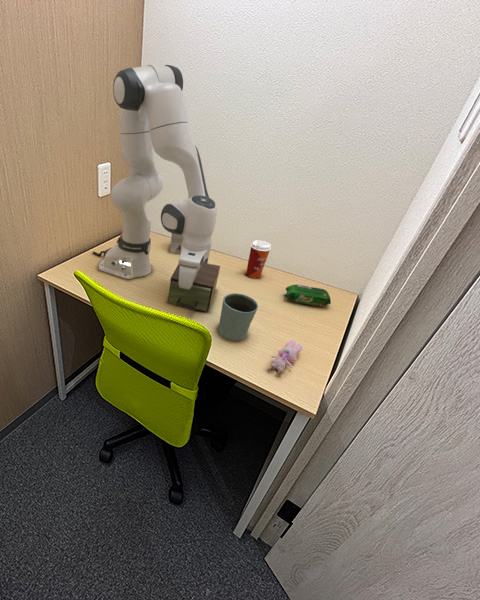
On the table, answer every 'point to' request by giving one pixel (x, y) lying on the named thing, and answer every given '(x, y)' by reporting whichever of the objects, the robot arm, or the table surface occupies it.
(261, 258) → the paper cup
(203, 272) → the cabinet
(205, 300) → the drawer
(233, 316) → the grey green plant pot
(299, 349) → the rabbit figure
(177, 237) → the coffee box
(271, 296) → the table surface
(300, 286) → the snack package
